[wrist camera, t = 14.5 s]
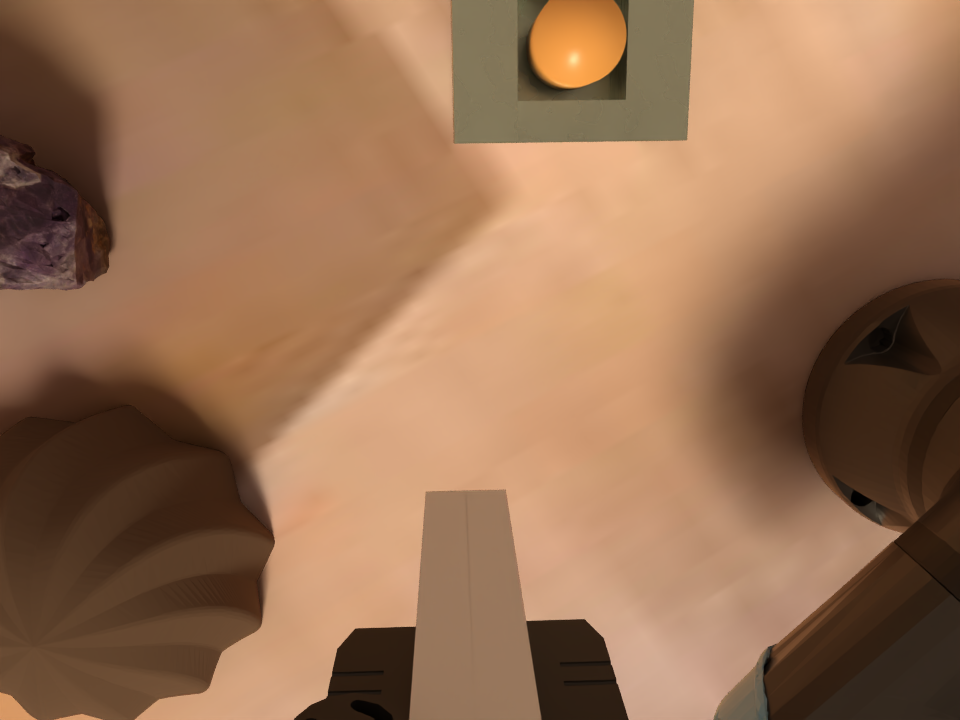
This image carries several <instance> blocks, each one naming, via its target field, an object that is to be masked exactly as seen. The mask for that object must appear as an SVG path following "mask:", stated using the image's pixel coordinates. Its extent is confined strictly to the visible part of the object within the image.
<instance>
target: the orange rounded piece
mask: <svg viewBox="0 0 960 720" xmlns="http://www.w3.org/2000/svg"><path fill="white" fill-rule="evenodd" d="M625 44H626V24H625V20H624V17H623V14H622V12H621V10H620V8H619V7H618V5H617V4H616V3H615V1H614V0H549V1H548V2H547V4H546V5H545V6H544V7H543V9H542V10H541V12H540V13H539V15H538V16H537V18H536V19H535V20H534V22H533V24H532V25H531V27H530V30H529V32H528V35H527V40H526V55H527V60H528V63H529V66H530V68H531V70H532V71H533V73H534V74H535V76H536V77H537V78H538V79H539V80H540V81H541V82H543V83H544V84H545V85H547V86H549V87H551V88H554V89H558V90H574V89H578V88H581V87H583V86H586V85H588V84H590V83H593V82H595V81H598V80H600V79H602V78H603V77H605V76H606V75H607V74H609V73H610V72H611V71H612V70H613V69H614V67H615V66H616V65H617V63H618V62H619V60H620V58H621V56H622V54H623V51H624V48H625Z"/></svg>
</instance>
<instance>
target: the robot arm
mask: <svg viewBox="0 0 960 720" xmlns="http://www.w3.org/2000/svg"><path fill="white" fill-rule="evenodd" d="M802 419H803V433H804V439H805V443H806V447H807V451H808V453H809V456H810V459H811V461H812V463H813V465H814V467H815V469H816V470H817V472H818V474H819V475H820V477H821V478H822V479H823V481H824V482H825V483H826V484H827V486H828V487H829V488H830V489H831V490H832V491H833V492H834V493H835V494H837V495H838V496H839V497H840V498H841V499H842V500H843V501H844V502H845V503H846V504H847V505H849V506H850V507H851V508H852V509H853V510H855V511H856V512H857V513H859V514H860V515H862V516H863V517H865V518H867V519H868V520H870V521H872V522H874V523H876V524H878V525H880V526H883V527H885V528H888V529H891V530H894V531H897V532H901V533H903V534H902V535H900V536H899V537H898V538H897V539H896V540H894V542H891V543H890V544H889V545H888V546H887V547H886V548H885V549H884V550H883V551H882V552H880V553H879V554H878V555H877V556H876V557H875V558H874V559H873V560H872V561H870V562H869V563H868V564H867V565H866V566H865V567H864V568H863V569H862V570H861V571H859V572H858V573H857V574H856V575H855V576H854V577H853V578H852V579H851V580H850V581H848V582H847V583H846V584H845V585H844V586H843V587H842V588H841V589H840V590H838V591H837V592H836V593H835V594H834V595H833V596H832V597H831V598H829V599H828V600H827V601H826V602H825V603H824V604H823V605H821V606H820V607H819V608H818V609H817V610H816V611H814V612H813V613H812V614H811V615H810V616H809V617H808V618H806V619H805V620H804V621H803V622H802V623H801V624H800V625H798V626H797V627H796V628H795V629H794V630H793V631H792V632H790V633H789V634H788V635H787V636H786V637H785V638H784V639H782V640H781V641H780V642H779V643H778V644H775V645H773V646H770V647H768V648H767V649H766V650H764V652H763V653H762V654H761V656H760V658H759V660H758V662H757V665H756V666H755V667H754V668H753V669H752V670H751V671H750V672H749V673H748V674H747V675H746V676H745V677H744V678H743V679H742V680H741V681H740V682H739V683H738V684H737V685H736V686H735V687H734V688H733V689H732V690H731V691H730V692H729V693H728V694H727V695H726V696H725V697H724V698H723V700H722V701H721V703H720V704H719V706H718V708H717V710H716V713H715V715H714V719H713V720H960V280H955V279H937V280H928V281H922V282H917V283H913V284H909V285H906V286H903V287H900V288H897V289H895V290H892V291H890V292H888V293H886V294H884V295H882V296H880V297H878V298H876V299H874V300H873V301H871V302H870V303H868V304H867V305H865V306H864V307H862V308H861V309H860V310H858V311H857V312H856V313H855V314H853V315H852V316H851V317H850V318H849V319H848V320H847V321H846V322H845V323H844V324H843V325H842V326H841V327H840V328H839V329H838V330H837V331H836V332H835V334H834V335H833V336H832V337H831V338H830V340H829V341H828V343H827V344H826V345H825V347H824V349H823V350H822V352H821V353H820V355H819V357H818V359H817V361H816V363H815V365H814V367H813V369H812V372H811V375H810V377H809V380H808V384H807V387H806V391H805V396H804V402H803V415H802ZM294 720H629V719H628V716H627V713H626V710H625V706H624V703H623V700H622V697H621V693H620V690H619V687H618V684H617V683H616V677H615V674H614V670H613V667H612V665H611V661H610V657H609V654H608V651H607V648H606V644H605V641H604V638H603V637H602V636H601V635H600V634H599V633H598V632H597V631H596V630H595V629H594V628H593V627H592V626H591V625H590V624H589V623H588V622H587V621H586V620H585V619H577V620H544V621H526V617H525V611H524V604H523V598H522V592H521V585H520V579H519V572H518V566H517V559H516V553H515V546H514V540H513V534H512V527H511V521H510V514H509V508H508V501H507V495H506V490H472V491H433V492H426V496H425V509H424V523H423V537H422V551H421V564H420V578H419V592H418V605H417V619H416V627H391V628H358V629H355V630H354V631H353V632H352V633H351V634H350V635H349V637H348V638H347V639H346V640H345V641H344V642H343V643H342V644H341V646H340V647H339V648H338V649H337V653H336V658H335V662H334V667H333V671H332V677H331V680H330V684H329V689H328V696H327V698H326V699H324V700H321V701H319V702H317V703H314V704H312V705H310V706H309V707H308V708H307V709H305V710H304V711H303V712H302V713H300V714H299V715H298V716H297V717H296V718H295V719H294Z"/></svg>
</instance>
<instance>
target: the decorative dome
mask: <svg viewBox="0 0 960 720" xmlns="http://www.w3.org/2000/svg"><path fill="white" fill-rule="evenodd" d="M274 544H275V540H274V537H273V535H272V534H271V533H270V532H269V531H268V529H267V528H266V527H265V526H264V525H263V524H262V523H261V522H260V521H259V520H258V519H257V518H256V517H255V516H254V515H253V514H252V513H251V512H250V511H249V510H248V509H247V508H246V507H245V506H244V505H243V504H242V503H241V501H240V497H239V493H238V489H237V485H236V481H235V478H234V474H233V470H232V466H231V462H230V460H229V458H228V456H227V455H226V454H224V453H223V452H221V451H218V450H213V449H209V448H205V447H201V446H196V445H192V444H188V443H183V442H179V441H176V440H173V439H172V438H170V437H169V436H168V435H167V434H166V433H164V432H163V431H162V430H161V429H160V428H159V427H157V426H156V425H155V424H154V423H153V422H151V421H150V420H149V419H148V418H147V417H145V416H144V415H143V414H142V413H141V412H139V411H138V410H137V409H136V408H135V407H133V406H131V405H126V406H122V407H119V408H115V409H112V410H108V411H105V412H102V413H99V414H96V415H93V416H91V417H88V418H86V419H83V420H81V421H79V422H77V423H74V422H66V421H59V420H52V419H44V418H36V417H29V418H25V419H23V420H22V421H20V422H19V423H17V424H16V425H15V426H13V427H12V428H11V429H9V430H8V431H6V432H5V433H4V434H3V435H2V436H0V692H1V693H5V694H8V695H11V696H12V697H13V698H14V699H15V700H16V701H17V702H18V703H19V704H20V705H21V706H22V707H23V708H24V709H25V710H26V712H27V713H29V714H30V715H31V716H32V717H34V718H36V719H37V720H54V719H59V718H63V717H68V716H73V715H78V714H84V715H88V716H92V717H96V718H99V719H103V720H134V719H136V718H137V717H138V716H139V715H140V714H141V713H142V712H144V711H145V710H146V709H147V708H148V707H150V706H151V705H152V704H153V703H155V702H156V701H157V700H158V699H162V698H168V697H174V696H181V695H190V694H199V693H203V692H205V691H206V690H207V689H208V688H209V686H210V683H211V680H212V677H213V674H214V671H215V668H216V665H217V662H218V660H219V657H220V655H221V653H222V651H224V650H225V649H226V648H228V647H230V646H231V645H233V644H234V643H236V642H238V641H239V640H241V639H243V638H245V637H246V636H248V635H250V634H252V633H254V632H256V631H257V630H258V629H259V628H260V627H261V624H262V618H261V610H260V603H259V596H258V588H257V580H258V578H259V576H260V574H261V572H262V570H263V568H264V566H265V564H266V562H267V560H268V558H269V556H270V554H271V551H272V549H273V547H274Z"/></svg>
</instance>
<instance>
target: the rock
mask: <svg viewBox="0 0 960 720" xmlns="http://www.w3.org/2000/svg"><path fill="white" fill-rule="evenodd" d="M34 155H35V151H34V150H33V148H32V147H30V146H28V145H26V144H22V143H19V142H16V141H14V140H11V139H8V138H6V137H4V136H2V135H0V289H15V290H28V289H61V290H70V289H79V288H81V287H83V286H84V285H85V284H86V282H88V281H94V279H96V278H97V277H98V276H100V275H102V274H104V273H106V272H107V270H108V268H109V257H108V255H109V251H110V241H109V237H108V234H107V231H106V226H105V223H104V221H103V220H102V218H100V217H99V216H98V215H97V214H96V210H95V209H93V208H92V207H91V206H90V205H89V204H88V202H87V201H85V200H84V199H83V198H82V197H81V196H80V195H79V193H78V191H77V190H76V189H75V188H74V187H73V186H72V185H71V184H70V183H69V182H68V181H67V180H66V179H64V178H61V177H60V176H59V175H58V174H57V173H55V172H53V171H51V170H47V169H44V168H39V167H37V166H35V163H34V160H33V159H32V157H33V156H34Z"/></svg>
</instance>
